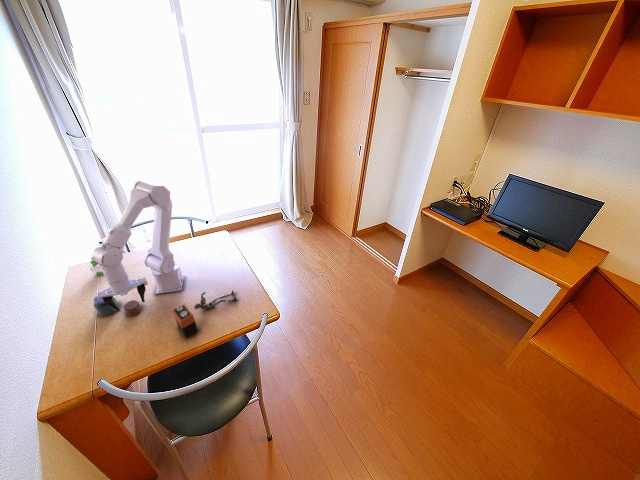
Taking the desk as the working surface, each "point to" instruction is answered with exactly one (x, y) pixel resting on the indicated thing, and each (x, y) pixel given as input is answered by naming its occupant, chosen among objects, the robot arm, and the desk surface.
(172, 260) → the robot arm
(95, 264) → the geometric puzzle
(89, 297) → the desk surface
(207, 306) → the zombie figurine
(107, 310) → the ink bottle
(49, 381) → the desk surface
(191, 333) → the battery
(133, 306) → the brown short cylinder
